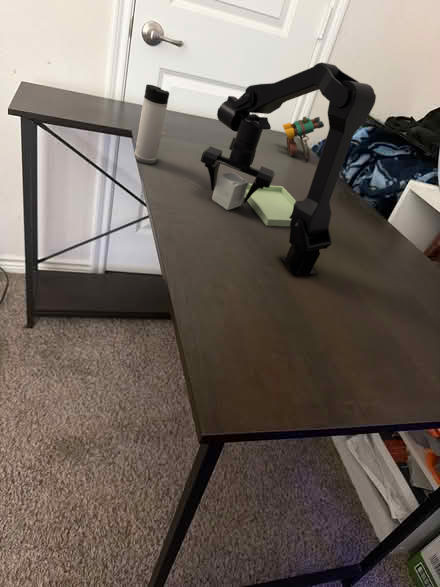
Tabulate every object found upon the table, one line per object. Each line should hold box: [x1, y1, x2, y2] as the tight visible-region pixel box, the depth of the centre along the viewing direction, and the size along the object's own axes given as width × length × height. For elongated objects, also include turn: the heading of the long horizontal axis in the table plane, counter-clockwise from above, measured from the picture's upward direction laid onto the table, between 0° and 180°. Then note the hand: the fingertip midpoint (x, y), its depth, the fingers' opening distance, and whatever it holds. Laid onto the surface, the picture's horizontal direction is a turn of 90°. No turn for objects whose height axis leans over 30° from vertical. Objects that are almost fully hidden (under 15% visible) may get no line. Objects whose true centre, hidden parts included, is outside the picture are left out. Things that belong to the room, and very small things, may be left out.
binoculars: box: [282, 116, 325, 160], centre depth 160 cm, size 14×14×15 cm
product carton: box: [211, 171, 250, 211], centre depth 114 cm, size 6×6×7 cm
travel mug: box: [133, 83, 170, 165], centre depth 116 cm, size 6×7×20 cm
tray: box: [243, 183, 297, 227], centre depth 121 cm, size 19×15×2 cm
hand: (228, 196), depth 115 cm, fingers open, 9 cm apart
